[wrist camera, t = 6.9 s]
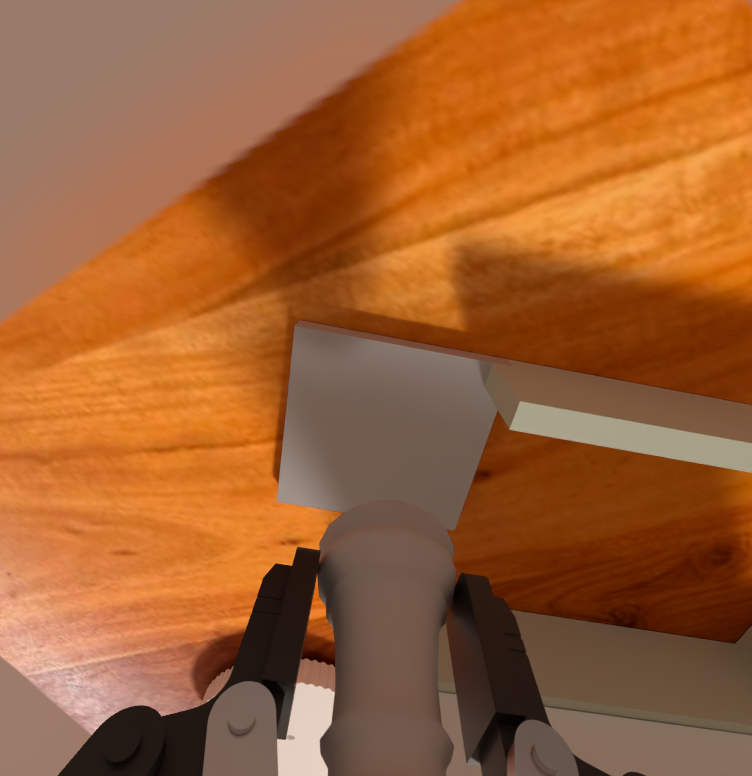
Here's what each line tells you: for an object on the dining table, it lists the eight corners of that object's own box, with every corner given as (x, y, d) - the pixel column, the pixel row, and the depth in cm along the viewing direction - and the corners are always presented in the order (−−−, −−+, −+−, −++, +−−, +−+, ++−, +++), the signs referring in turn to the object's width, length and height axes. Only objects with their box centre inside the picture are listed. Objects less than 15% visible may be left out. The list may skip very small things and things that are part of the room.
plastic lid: (292, 615, 27) (283, 653, 25) (420, 705, 31) (423, 744, 29) (174, 691, 31) (157, 730, 29) (301, 762, 35) (295, 800, 33)
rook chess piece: (335, 595, 14) (281, 998, 7) (307, 500, 12) (193, 907, 5) (457, 583, 14) (537, 998, 6) (446, 483, 12) (538, 900, 5)
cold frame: (936, 438, 20) (1666, 733, 9) (691, 705, 30) (879, 1005, 18) (485, 353, 19) (641, 568, 7) (386, 662, 28) (387, 956, 17)
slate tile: (507, 359, 18) (513, 366, 18) (451, 517, 22) (454, 530, 22) (299, 319, 18) (294, 325, 17) (281, 490, 22) (276, 501, 21)
